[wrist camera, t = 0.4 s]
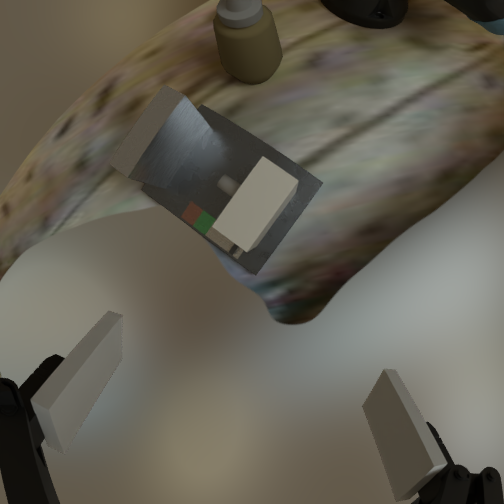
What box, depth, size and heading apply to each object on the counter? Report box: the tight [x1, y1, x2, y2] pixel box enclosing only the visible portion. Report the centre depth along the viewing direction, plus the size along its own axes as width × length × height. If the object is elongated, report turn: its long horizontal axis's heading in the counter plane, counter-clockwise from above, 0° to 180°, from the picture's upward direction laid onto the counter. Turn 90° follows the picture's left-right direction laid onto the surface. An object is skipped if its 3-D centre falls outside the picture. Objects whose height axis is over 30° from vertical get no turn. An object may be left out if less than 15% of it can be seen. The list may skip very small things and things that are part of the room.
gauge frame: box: [109, 85, 323, 275], centre depth 32 cm, size 14×19×12 cm
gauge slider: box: [212, 156, 299, 255], centre depth 32 cm, size 10×7×9 cm, turn 144°
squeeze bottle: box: [213, 0, 283, 84], centre depth 27 cm, size 8×8×18 cm
